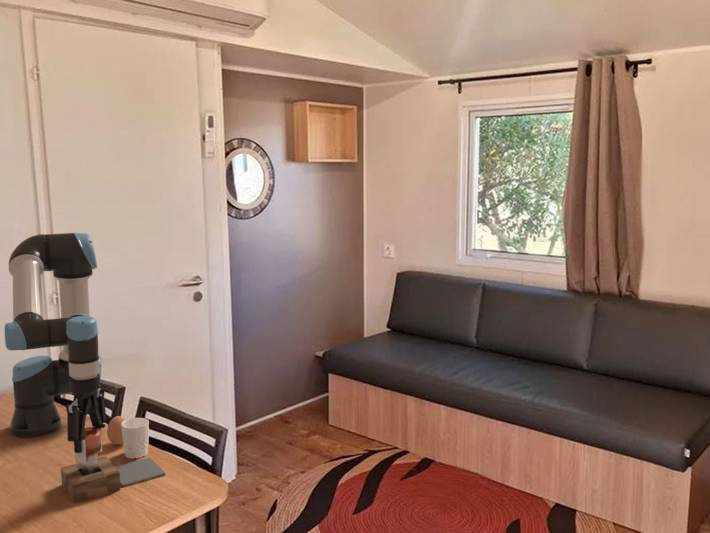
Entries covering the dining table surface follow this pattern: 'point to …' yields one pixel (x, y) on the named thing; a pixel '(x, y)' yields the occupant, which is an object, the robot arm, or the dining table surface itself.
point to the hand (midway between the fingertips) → (89, 456)
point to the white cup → (135, 437)
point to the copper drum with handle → (91, 450)
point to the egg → (115, 430)
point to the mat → (139, 471)
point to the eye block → (90, 480)
